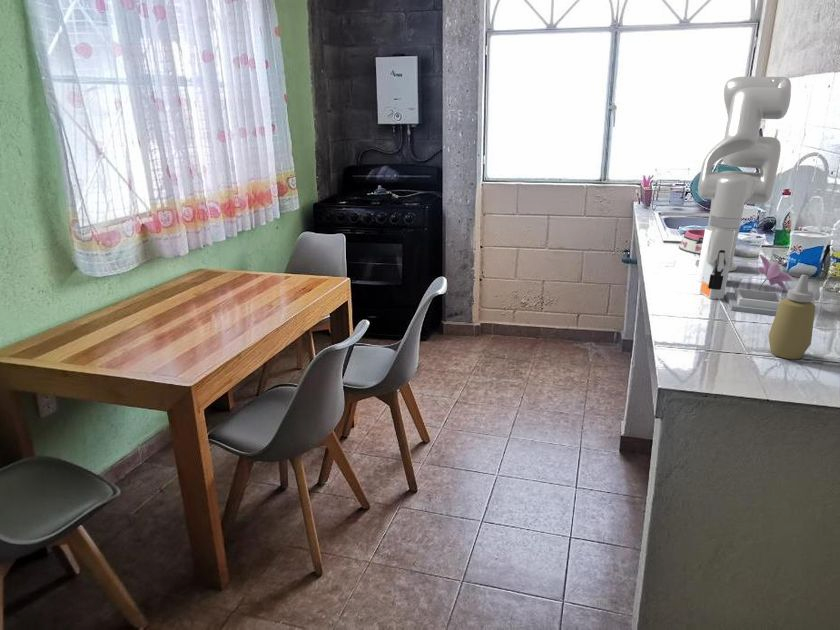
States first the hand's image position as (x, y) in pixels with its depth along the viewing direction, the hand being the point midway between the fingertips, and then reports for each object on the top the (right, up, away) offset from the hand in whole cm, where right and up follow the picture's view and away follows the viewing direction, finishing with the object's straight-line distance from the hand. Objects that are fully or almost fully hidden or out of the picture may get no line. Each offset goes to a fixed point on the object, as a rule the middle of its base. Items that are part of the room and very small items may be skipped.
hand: (713, 284), depth 172 cm
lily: (+21, -1, +9) cm, 23 cm away
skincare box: (0, -3, +1) cm, 4 cm away
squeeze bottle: (-3, -17, -39) cm, 43 cm away
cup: (+7, +2, +16) cm, 17 cm away
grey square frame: (+8, -6, -7) cm, 13 cm away
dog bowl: (+25, +15, +57) cm, 64 cm away
